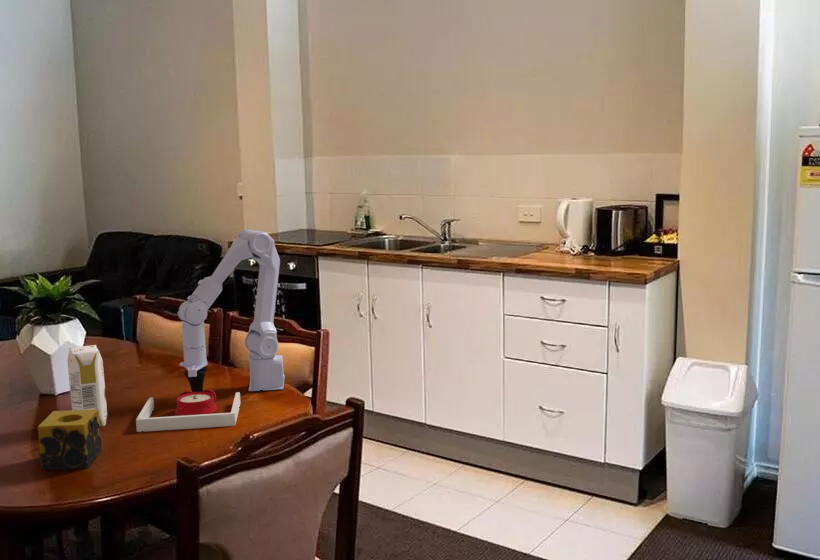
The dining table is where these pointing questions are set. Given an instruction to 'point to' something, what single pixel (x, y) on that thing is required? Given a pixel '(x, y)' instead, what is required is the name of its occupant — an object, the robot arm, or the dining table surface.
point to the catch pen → (185, 419)
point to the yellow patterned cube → (69, 440)
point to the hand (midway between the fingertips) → (197, 395)
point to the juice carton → (87, 381)
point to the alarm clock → (196, 403)
